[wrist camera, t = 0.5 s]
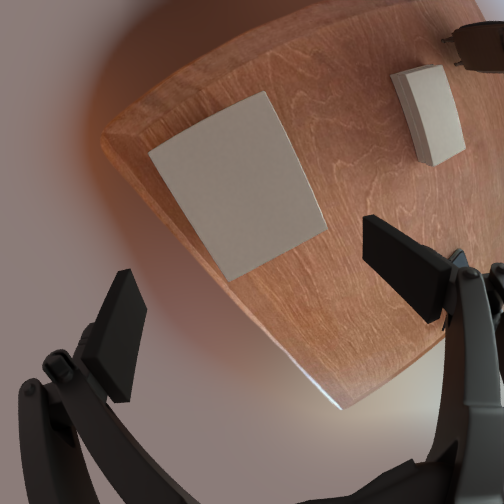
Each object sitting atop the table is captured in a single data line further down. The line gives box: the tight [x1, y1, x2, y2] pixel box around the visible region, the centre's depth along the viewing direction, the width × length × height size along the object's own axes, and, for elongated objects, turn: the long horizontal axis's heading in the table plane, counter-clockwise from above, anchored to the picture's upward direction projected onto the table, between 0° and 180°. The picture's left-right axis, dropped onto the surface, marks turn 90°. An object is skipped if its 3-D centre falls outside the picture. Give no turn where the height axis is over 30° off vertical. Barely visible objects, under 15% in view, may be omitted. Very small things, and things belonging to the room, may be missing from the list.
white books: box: [390, 64, 465, 167], centre depth 27 cm, size 12×8×3 cm, turn 27°
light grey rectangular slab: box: [148, 91, 328, 282], centre depth 23 cm, size 13×10×2 cm
